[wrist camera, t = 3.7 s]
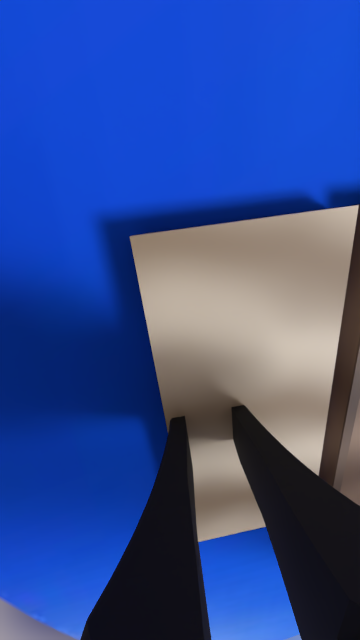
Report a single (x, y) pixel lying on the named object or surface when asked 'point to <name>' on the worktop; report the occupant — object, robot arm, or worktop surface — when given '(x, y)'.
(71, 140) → the worktop surface
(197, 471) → the maple plank
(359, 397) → the walnut strip
